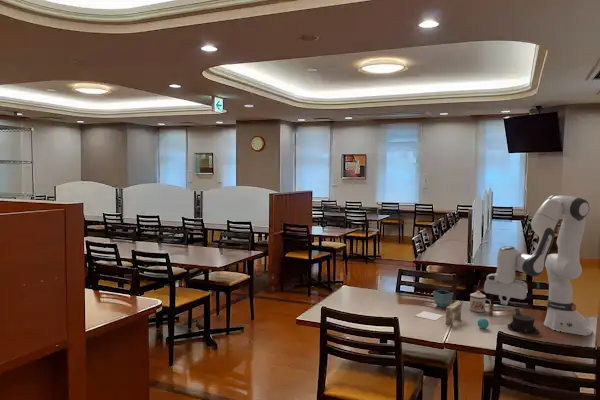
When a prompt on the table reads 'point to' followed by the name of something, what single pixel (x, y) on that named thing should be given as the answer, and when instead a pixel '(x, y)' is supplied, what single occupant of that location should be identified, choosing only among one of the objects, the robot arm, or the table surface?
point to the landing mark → (429, 315)
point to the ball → (483, 323)
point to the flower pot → (442, 298)
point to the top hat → (522, 323)
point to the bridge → (450, 312)
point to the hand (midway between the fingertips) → (504, 304)
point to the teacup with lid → (478, 302)
